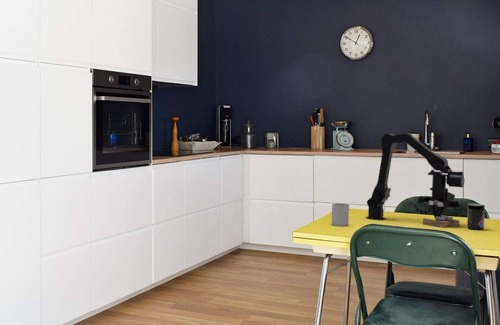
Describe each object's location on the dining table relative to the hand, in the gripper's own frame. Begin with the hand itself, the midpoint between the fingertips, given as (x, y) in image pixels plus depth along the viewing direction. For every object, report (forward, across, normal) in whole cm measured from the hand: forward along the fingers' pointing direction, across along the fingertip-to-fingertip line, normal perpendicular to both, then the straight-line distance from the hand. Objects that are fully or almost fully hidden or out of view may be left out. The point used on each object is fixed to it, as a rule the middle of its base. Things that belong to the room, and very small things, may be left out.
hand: (437, 220), depth 277 cm
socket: (+2, -4, 0) cm, 4 cm away
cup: (+2, +19, +40) cm, 44 cm away
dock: (+2, -2, 0) cm, 2 cm away
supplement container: (+2, -16, -5) cm, 17 cm away
